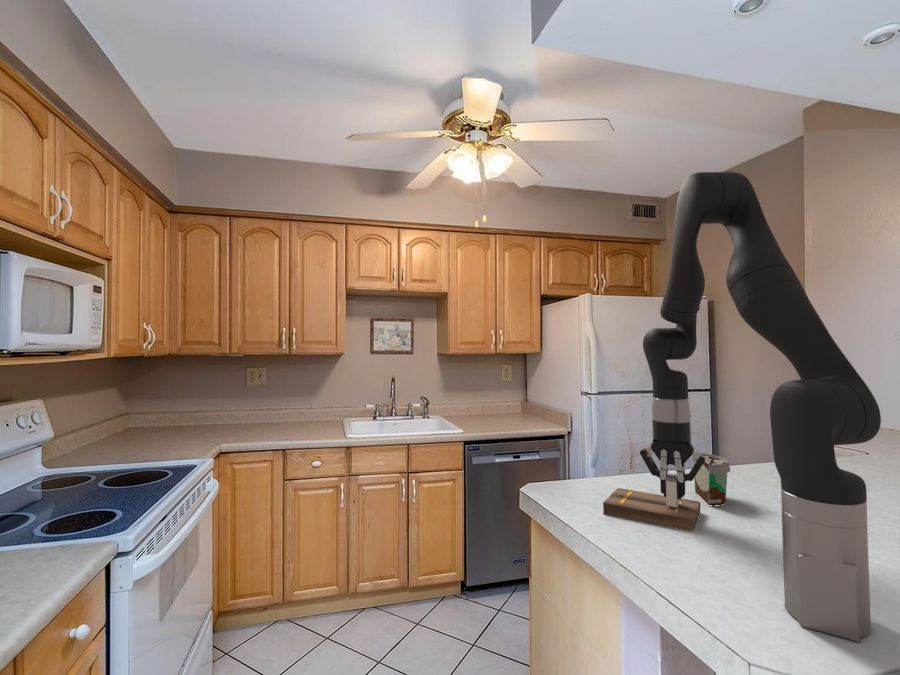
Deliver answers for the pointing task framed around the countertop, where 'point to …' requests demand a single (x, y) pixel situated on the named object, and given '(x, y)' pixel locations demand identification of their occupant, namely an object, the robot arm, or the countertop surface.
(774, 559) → the countertop surface
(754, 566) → the countertop surface
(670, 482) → the fader tab
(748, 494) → the countertop surface
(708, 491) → the food container
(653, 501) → the fader console
